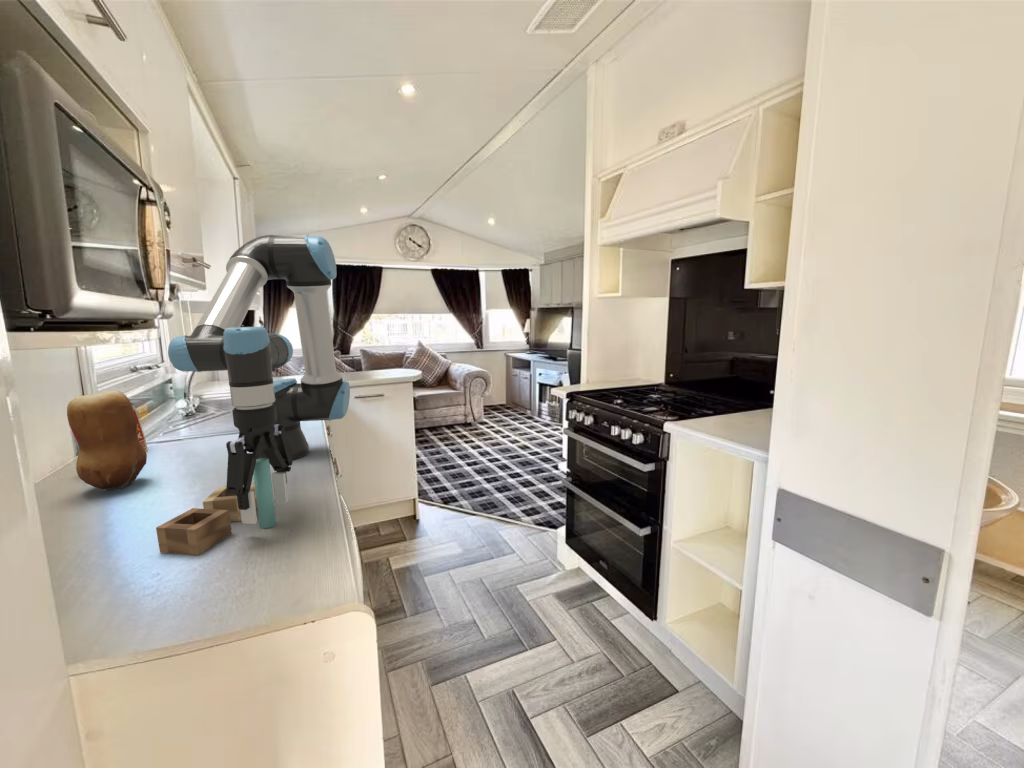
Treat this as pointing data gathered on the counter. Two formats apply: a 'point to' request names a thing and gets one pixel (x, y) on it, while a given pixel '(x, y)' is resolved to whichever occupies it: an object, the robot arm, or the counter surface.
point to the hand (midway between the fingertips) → (266, 511)
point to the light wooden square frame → (226, 502)
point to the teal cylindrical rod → (264, 493)
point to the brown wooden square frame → (193, 531)
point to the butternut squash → (106, 440)
